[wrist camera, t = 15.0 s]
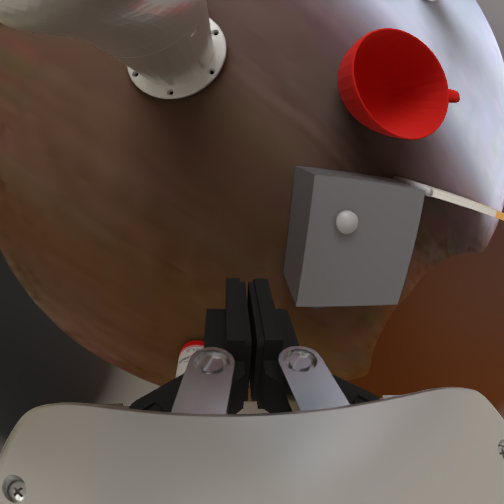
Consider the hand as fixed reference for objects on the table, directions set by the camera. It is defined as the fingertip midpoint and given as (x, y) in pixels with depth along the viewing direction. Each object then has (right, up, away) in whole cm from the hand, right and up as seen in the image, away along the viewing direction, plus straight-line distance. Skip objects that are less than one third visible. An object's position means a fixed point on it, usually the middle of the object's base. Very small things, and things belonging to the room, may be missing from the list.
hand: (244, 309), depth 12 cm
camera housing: (+12, +6, +28) cm, 31 cm away
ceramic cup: (+18, +24, +21) cm, 37 cm away
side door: (+31, +12, +27) cm, 42 cm away
